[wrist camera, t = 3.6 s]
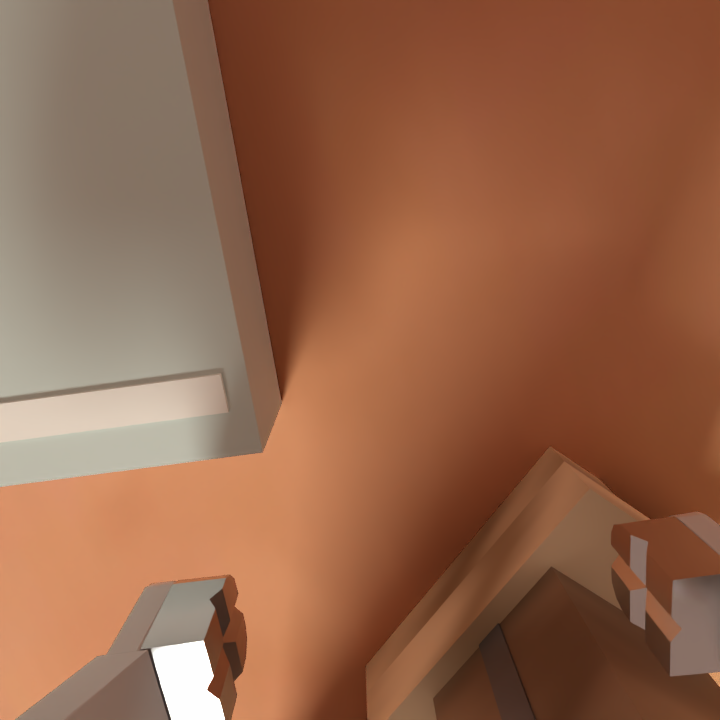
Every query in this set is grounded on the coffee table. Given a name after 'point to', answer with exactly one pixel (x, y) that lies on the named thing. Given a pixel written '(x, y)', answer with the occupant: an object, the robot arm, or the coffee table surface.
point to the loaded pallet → (501, 579)
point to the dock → (123, 246)
